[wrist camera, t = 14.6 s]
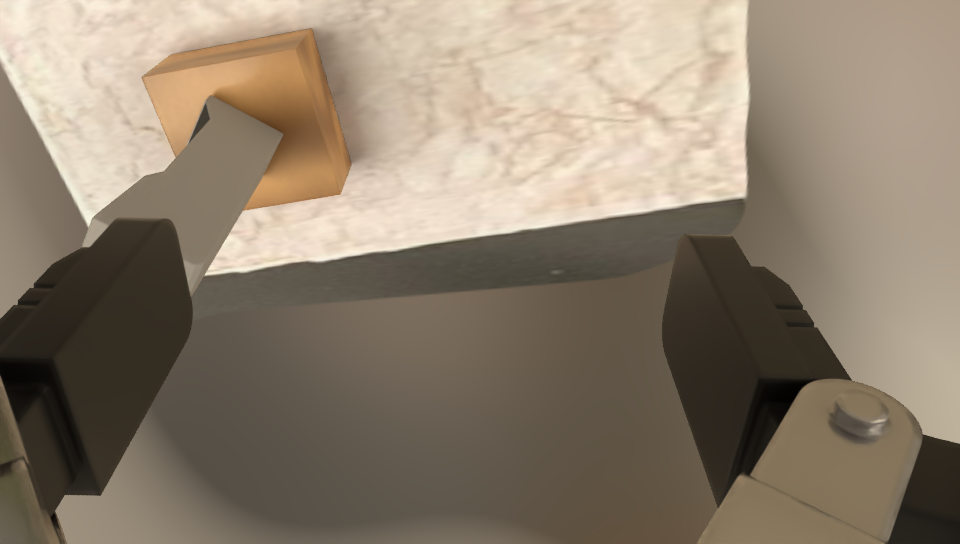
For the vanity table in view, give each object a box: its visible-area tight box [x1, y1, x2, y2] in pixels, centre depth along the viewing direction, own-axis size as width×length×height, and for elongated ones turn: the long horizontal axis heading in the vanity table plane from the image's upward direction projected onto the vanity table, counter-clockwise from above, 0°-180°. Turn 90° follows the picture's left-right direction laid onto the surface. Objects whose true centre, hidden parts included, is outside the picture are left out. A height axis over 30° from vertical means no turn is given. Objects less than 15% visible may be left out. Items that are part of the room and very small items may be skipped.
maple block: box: [142, 29, 351, 210], centre depth 50 cm, size 10×10×5 cm
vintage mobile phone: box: [81, 95, 283, 296], centre depth 37 cm, size 4×5×25 cm
